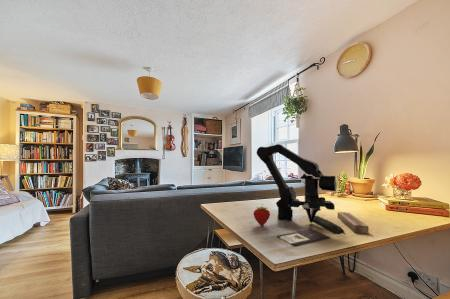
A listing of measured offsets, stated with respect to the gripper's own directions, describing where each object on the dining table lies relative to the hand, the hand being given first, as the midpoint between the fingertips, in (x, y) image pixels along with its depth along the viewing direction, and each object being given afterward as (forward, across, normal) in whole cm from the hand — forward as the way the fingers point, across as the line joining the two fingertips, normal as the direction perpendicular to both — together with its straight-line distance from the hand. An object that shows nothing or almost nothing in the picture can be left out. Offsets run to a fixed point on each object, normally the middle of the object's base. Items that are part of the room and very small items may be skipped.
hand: (311, 222), depth 96 cm
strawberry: (+1, -23, -9) cm, 24 cm away
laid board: (0, +18, +3) cm, 18 cm away
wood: (+1, +6, 0) cm, 7 cm away
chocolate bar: (+1, -6, -18) cm, 19 cm away
